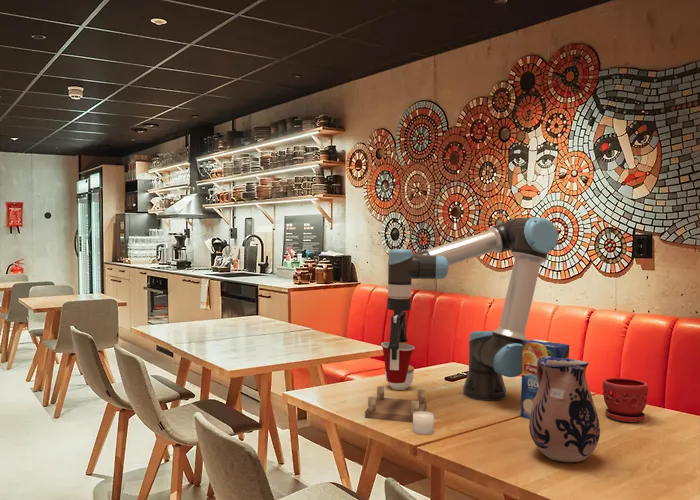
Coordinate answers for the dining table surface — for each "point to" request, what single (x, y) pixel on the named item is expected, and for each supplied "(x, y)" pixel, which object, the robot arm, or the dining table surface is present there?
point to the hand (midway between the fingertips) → (397, 365)
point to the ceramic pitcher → (564, 411)
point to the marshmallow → (423, 422)
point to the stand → (394, 407)
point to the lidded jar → (407, 382)
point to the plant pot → (625, 399)
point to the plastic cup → (404, 360)
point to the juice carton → (529, 368)
